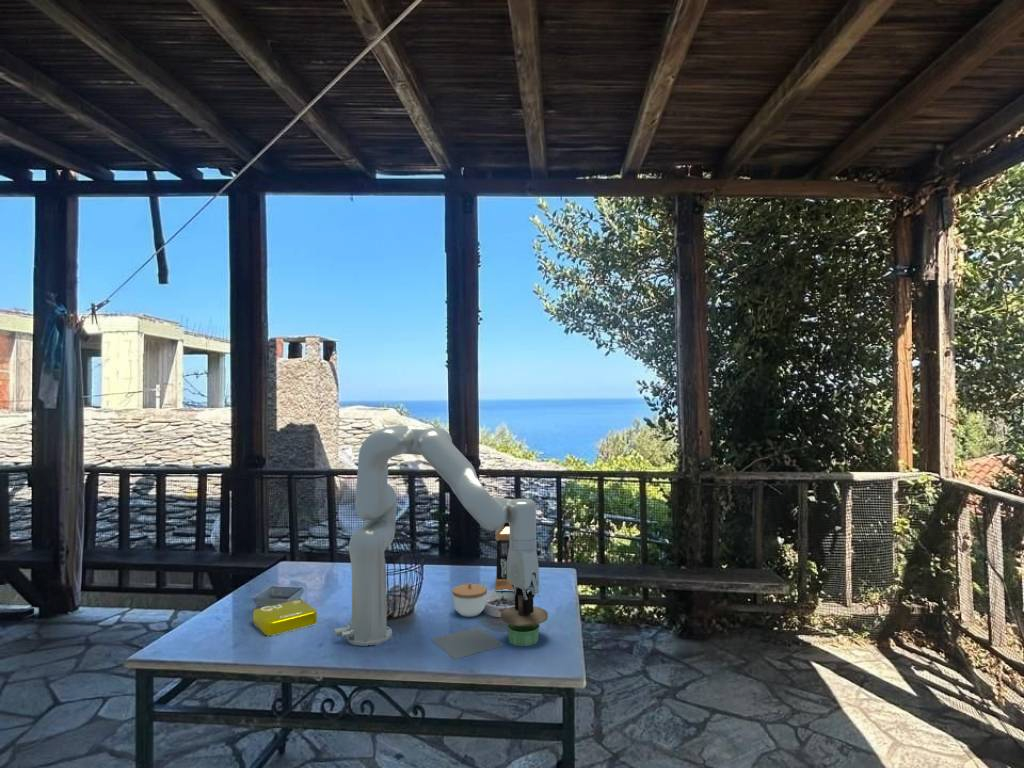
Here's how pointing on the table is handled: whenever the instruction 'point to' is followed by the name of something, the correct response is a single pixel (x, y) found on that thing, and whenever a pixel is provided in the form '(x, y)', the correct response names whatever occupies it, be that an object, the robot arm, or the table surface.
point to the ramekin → (523, 634)
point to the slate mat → (467, 642)
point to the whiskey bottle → (502, 556)
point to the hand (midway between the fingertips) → (524, 610)
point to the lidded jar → (469, 599)
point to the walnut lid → (519, 618)
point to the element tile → (284, 617)
